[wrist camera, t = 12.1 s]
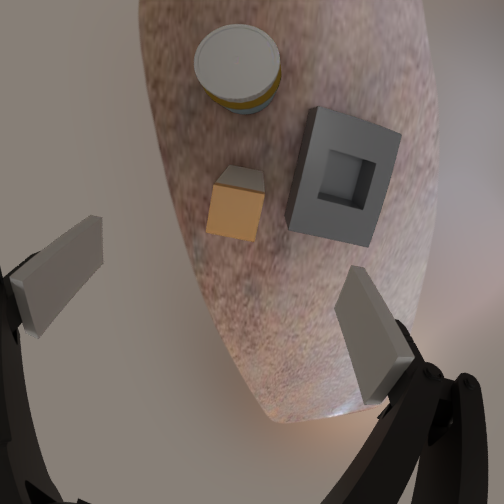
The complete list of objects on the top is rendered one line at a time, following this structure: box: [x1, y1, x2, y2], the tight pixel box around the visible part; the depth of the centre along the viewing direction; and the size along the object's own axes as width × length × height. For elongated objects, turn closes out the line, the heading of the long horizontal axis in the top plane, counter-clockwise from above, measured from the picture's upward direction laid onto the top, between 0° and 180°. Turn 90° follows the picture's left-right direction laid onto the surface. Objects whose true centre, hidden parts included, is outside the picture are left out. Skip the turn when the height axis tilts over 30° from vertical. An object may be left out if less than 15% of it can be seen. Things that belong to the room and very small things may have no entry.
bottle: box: [194, 24, 281, 114], centre depth 24 cm, size 7×7×15 cm
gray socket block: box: [284, 106, 402, 247], centre depth 32 cm, size 14×10×6 cm
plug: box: [206, 165, 265, 242], centre depth 30 cm, size 4×4×13 cm
